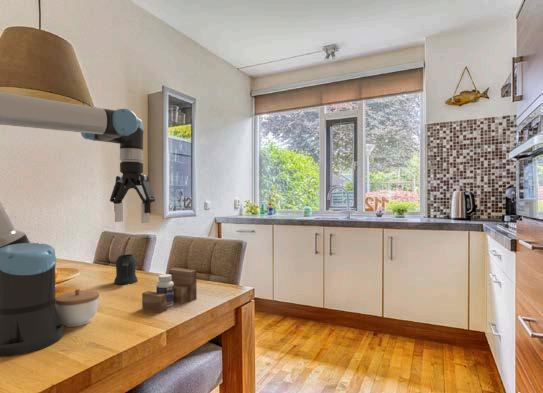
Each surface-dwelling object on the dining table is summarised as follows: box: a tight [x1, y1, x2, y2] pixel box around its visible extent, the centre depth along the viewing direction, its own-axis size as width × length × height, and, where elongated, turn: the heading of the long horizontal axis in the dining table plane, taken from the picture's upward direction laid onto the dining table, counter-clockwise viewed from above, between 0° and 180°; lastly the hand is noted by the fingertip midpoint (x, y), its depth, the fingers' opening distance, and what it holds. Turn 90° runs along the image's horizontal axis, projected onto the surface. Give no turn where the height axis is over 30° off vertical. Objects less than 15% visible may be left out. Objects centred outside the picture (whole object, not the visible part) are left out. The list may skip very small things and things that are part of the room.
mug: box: [113, 253, 138, 286], centre depth 132 cm, size 12×9×11 cm
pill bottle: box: [155, 273, 175, 308], centre depth 104 cm, size 5×5×10 cm
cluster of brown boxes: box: [141, 267, 198, 314], centre depth 105 cm, size 15×10×10 cm, turn 153°
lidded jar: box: [55, 288, 100, 328], centre depth 89 cm, size 11×11×9 cm
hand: (131, 222), depth 111 cm, fingers open, 13 cm apart
